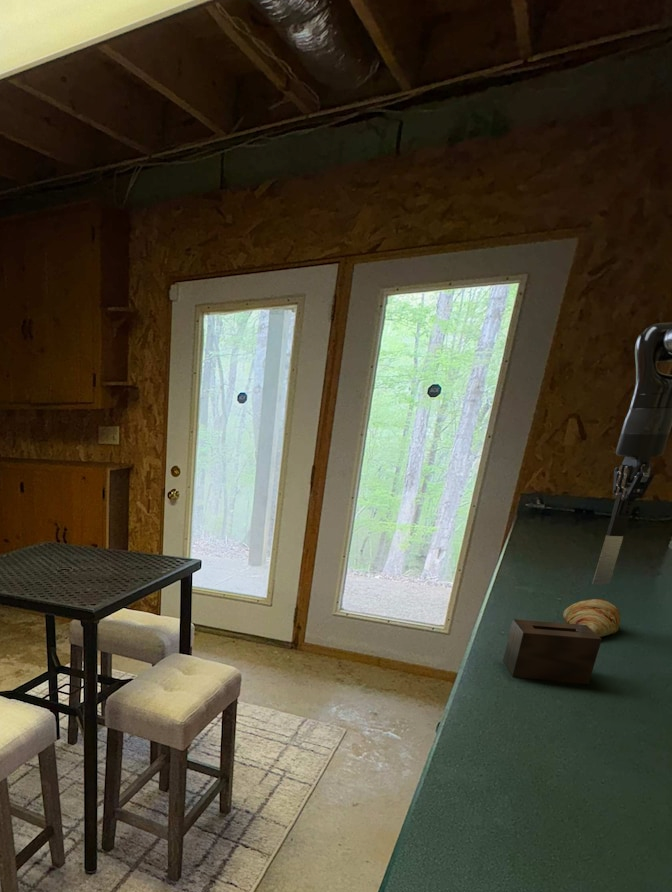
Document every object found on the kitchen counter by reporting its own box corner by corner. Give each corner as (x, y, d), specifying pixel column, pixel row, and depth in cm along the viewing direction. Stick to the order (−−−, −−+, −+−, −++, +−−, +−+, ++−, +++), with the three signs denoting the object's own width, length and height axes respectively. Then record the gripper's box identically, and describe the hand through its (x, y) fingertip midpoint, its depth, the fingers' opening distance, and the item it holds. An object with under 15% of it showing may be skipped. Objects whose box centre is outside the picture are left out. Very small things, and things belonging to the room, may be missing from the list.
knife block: (573, 667, 123) (586, 624, 120) (588, 684, 116) (602, 639, 112) (502, 661, 127) (512, 619, 124) (512, 676, 120) (523, 632, 117)
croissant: (599, 658, 135) (631, 631, 130) (554, 630, 139) (583, 603, 134) (601, 629, 150) (630, 604, 145) (560, 605, 154) (587, 579, 149)
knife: (607, 583, 140) (633, 492, 132) (610, 586, 138) (637, 493, 131) (590, 582, 141) (616, 492, 133) (593, 585, 139) (620, 493, 132)
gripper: (684, 432, 120) (656, 523, 127) (653, 430, 132) (629, 512, 139) (636, 433, 123) (610, 521, 129) (610, 430, 135) (588, 511, 141)
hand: (620, 516), depth 134 cm, fingers closed on knife, 2 cm apart
